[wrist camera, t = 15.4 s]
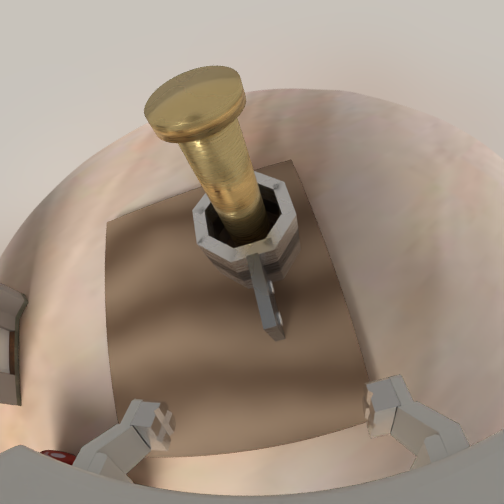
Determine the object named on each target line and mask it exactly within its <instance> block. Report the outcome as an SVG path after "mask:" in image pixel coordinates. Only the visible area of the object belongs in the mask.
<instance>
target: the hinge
mask: <svg viewBox="0 0 504 504" xmlns="http://www.w3.org/2000/svg"><path fill="white" fill-rule="evenodd" d="M254 173H255V176H256V180H257V183H258V186H259V189H260V193H261V196H262V199H263V203H264V206H265V209H266V213H267V216H268V219H269V222H270V223H273V224H275V225H274V226H273V228H272V229H271V231H270V233H269V234H268V236H267V237H266V239H264V240H260V241H257V242H253V243H250V244H247V245H243V246H240V247H237V248H232V247H230V246H228V245H226V243H227V242H228V240H229V239H230V238H231V237H230V235H229V233H228V231H227V230H226V228H225V226H224V224H223V223H222V221H221V219H220V217H219V215H218V214H217V212H216V210H215V208H214V207H213V205H212V203H211V201H210V200H209V198H208V196H207V194H206V193H205V194H204V196H203V197H202V198H201V200H200V201H199V202H198V203H197V205H196V206H195V207H194V209H193V210H192V211H193V219H194V227H195V234H196V241H197V245H198V246H199V247H200V249H201V250H202V251H203V252H204V253H205V255H206V256H207V257H208V258H209V259H210V261H211V262H212V263H213V264H214V266H215V267H216V268H217V269H218V270H219V272H220V273H222V274H223V275H225V276H227V277H229V278H230V279H232V280H234V281H236V282H238V283H239V284H241V285H243V286H245V287H247V288H248V289H250V288H254V292H255V296H256V300H257V304H258V308H259V313H260V317H261V321H262V325H263V329H264V330H265V331H266V333H267V334H268V335H269V336H270V337H271V338H272V339H273V340H274V341H275V342H276V341H280V340H283V339H285V335H284V331H283V327H282V326H283V321H282V318H281V314H280V311H278V308H277V304H276V300H275V297H274V294H275V291H274V287H273V284H272V282H275V281H279V280H282V279H284V277H285V276H286V274H287V272H288V271H289V269H290V267H291V266H292V264H293V262H294V261H295V259H296V257H297V255H298V254H299V252H300V250H301V247H300V239H299V231H298V223H297V215H296V212H295V209H294V207H293V204H292V201H291V198H290V196H289V193H288V190H287V188H286V185H285V182H283V181H280V180H278V179H275V178H272V177H270V176H267V175H264V174H261V173H258V172H256V171H254Z"/></svg>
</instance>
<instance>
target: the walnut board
mask: <svg viewBox="0 0 504 504" xmlns="http://www.w3.org/2000/svg"><path fill="white" fill-rule="evenodd" d="M254 171H256V172H258V173H261V174H264V175H267V176H270V177H272V178H275V179H278V180H280V181H283V182H285V185H286V188H287V190H288V193H289V196H290V198H291V201H292V204H293V207H294V209H295V212H296V215H297V223H298V231H299V239H300V247H301V250H300V252H299V254H298V255H297V257H296V259H295V261H294V262H293V264H292V266H291V267H290V269H289V271H288V272H287V274H286V276H285V277H284V279H282V280H279V281H275V282H272V284H273V287H274V291H275V294H274V297H275V300H276V304H277V308H278V311H280V314H281V318H282V321H283V326H282V327H283V331H284V335H285V339H283V340H280V341H276V342H275V341H274V340H273V339H272V338H271V337H270V336H269V335H268V334H267V333H266V331H265V330H264V329H263V325H262V321H261V317H260V313H259V308H258V304H257V300H256V296H255V292H254V288H250V289H248V288H247V287H245V286H243V285H241V284H239V283H238V282H236V281H234V280H232V279H230V278H229V277H227V276H225V275H223V274H222V273H220V272H219V270H218V269H217V268H216V267H215V266H214V264H213V263H212V262H211V261H210V259H209V258H208V257H207V256H206V255H205V253H204V252H203V251H202V250H201V249H200V247H199V246H198V245H197V241H196V234H195V227H194V219H193V211H192V210H193V209H194V207H195V206H196V205H197V203H198V202H199V201H200V200H201V198H202V197H203V196H204V194H205V193H206V192H205V191H204V189H203V187H200V188H197V189H194V190H191V191H188V192H185V193H182V194H180V195H177V196H174V197H171V198H168V199H166V200H163V201H160V202H158V203H155V204H152V205H150V206H147V207H144V208H142V209H139V210H137V211H134V212H131V213H129V214H126V215H124V216H121V217H119V218H117V219H114V220H112V221H109V222H107V229H106V250H105V307H106V328H107V342H108V354H109V363H110V372H111V380H112V388H113V395H114V401H115V407H116V413H117V419H118V424H120V423H121V421H122V419H123V417H124V415H125V413H126V411H127V409H128V407H129V405H130V403H131V401H132V400H134V399H142V400H155V401H165V402H166V403H167V405H168V406H169V407H168V410H169V411H170V412H172V413H173V415H174V417H175V421H176V427H175V431H174V433H173V434H171V435H170V438H171V443H170V446H169V449H168V451H158V450H151V451H150V452H149V453H148V454H147V455H146V456H145V457H192V456H207V455H218V454H228V453H236V452H244V451H251V450H257V449H263V448H269V447H274V446H279V445H284V444H289V443H294V442H298V441H302V440H307V439H311V438H315V437H319V436H322V435H326V434H330V433H333V432H336V431H340V430H343V429H346V428H350V427H353V426H356V425H359V424H362V423H365V422H367V421H368V420H367V419H366V418H365V416H364V412H363V404H362V400H363V396H364V395H365V394H364V390H363V387H364V383H367V382H369V378H368V374H367V371H366V367H365V363H364V360H363V356H362V353H361V350H360V346H359V343H358V339H357V336H356V333H355V330H354V326H353V323H352V320H351V317H350V314H349V311H348V308H347V304H346V301H345V298H344V295H343V292H342V289H341V287H340V284H339V281H338V278H337V275H336V272H335V269H334V266H333V264H332V261H331V258H330V255H329V253H328V250H327V247H326V244H325V242H324V239H323V236H322V234H321V231H320V229H319V226H318V223H317V221H316V218H315V216H314V213H313V211H312V208H311V206H310V203H309V201H308V198H307V196H306V193H305V191H304V188H303V186H302V184H301V181H300V179H299V176H298V174H297V172H296V169H295V167H294V165H293V163H292V160H288V161H285V162H281V163H277V164H274V165H270V166H267V167H263V168H260V169H257V170H254ZM269 223H270V222H269ZM274 225H275V224H273V223H270V226H271V229H272V228H273V226H274ZM226 245H228V246H230V247H232V248H237V247H236V245H235V244H234V242H233V240H232V238H230V239H229V240H228V242H227V243H226Z"/></svg>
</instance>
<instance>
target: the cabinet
mask: <svg viewBox="0 0 504 504" xmlns="http://www.w3.org/2000/svg"><path fill="white" fill-rule="evenodd" d="M27 304H28V301H27V299H26V297H25V295H24V294H22V293H20V292H18V291H16V290H14V289H12V288H10V287H8V286H6V285H4V284H2V283H0V403H3V404H10V405H18V406H21V397H20V384H19V360H18V341H19V318H20V316H21V314H22V312H23V311H24V309H25V307H26V305H27Z"/></svg>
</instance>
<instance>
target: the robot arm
mask: <svg viewBox="0 0 504 504" xmlns="http://www.w3.org/2000/svg"><path fill="white" fill-rule="evenodd" d="M363 390H364V394H365V395H364V396H363V400H362V404H363V412H364V416H365V418H366V419H367V420H368V423H367V428H368V431H369V435H370V438H375V437H379V436H384V435H388V434H391V436H393V437H394V438H395V439H396V440H397V441H399V442H400V443H401V444H402V445H404V446H405V447H406V448H407V449H408V450H410V451H411V452H412V453H413V454H415V455H416V456H417V457H416V459H415V461H414V463H413V465H412V467H411V469H410V471H407V472H404V473H400V474H397V475H394V476H390V477H386V478H383V479H379V480H375V481H371V482H366V483H362V484H357V485H352V486H347V487H342V488H336V489H330V490H323V491H315V492H307V493H297V494H285V495H264V496H232V495H211V494H199V493H189V492H180V491H173V490H166V489H160V488H154V487H149V486H144V485H139V484H134V483H133V481H132V480H131V479H130V478H129V477H128V476H127V475H126V474H127V473H128V472H129V471H130V470H131V469H132V468H133V467H134V466H135V465H137V464H138V463H139V462H140V461H141V460H142V459H143V458H144V457H145V456H146V455H147V454H148V453H149V452H150V451H151V450H158V451H168V449H169V446H170V443H171V438H170V435H171V434H173V433H174V431H175V427H176V421H175V417H174V415H173V413H172V412H170V411H169V410H168V407H169V406H168V405H167V403H166V402H165V401H155V400H142V399H134V400H132V401H131V403H130V405H129V407H128V409H127V411H126V413H125V415H124V417H123V419H122V421H121V423H120V424H116V425H115V426H113V427H112V428H110V429H109V430H107V431H106V432H104V433H103V434H101V435H100V436H98V437H97V438H95V439H94V440H92V441H91V442H89V443H87V444H86V445H84V446H83V447H82V448H81V450H80V452H79V453H78V455H77V457H76V459H75V461H74V463H73V465H69V464H66V463H63V462H61V461H58V460H56V459H53V458H51V457H49V456H46V455H44V454H42V453H39V452H37V451H35V450H33V449H31V448H29V447H26V446H24V445H18V446H15V447H13V448H10V449H8V450H6V451H4V452H2V453H0V504H504V429H502V430H501V431H499V432H497V433H495V434H494V435H492V436H490V437H488V438H486V439H484V440H482V441H480V442H478V443H476V444H474V445H472V446H470V445H469V443H468V441H467V439H466V437H465V435H464V433H463V431H462V429H461V427H460V425H459V424H458V423H456V422H454V421H452V420H451V419H449V418H447V417H445V416H443V415H441V414H439V413H438V412H436V411H434V410H432V409H430V408H429V407H427V406H425V405H423V404H421V403H420V402H418V401H416V402H414V401H413V399H412V397H411V395H410V393H409V390H408V388H407V386H406V384H405V382H404V380H403V378H402V376H401V375H396V376H392V377H388V378H384V379H380V380H376V381H372V382H367V383H364V387H363Z"/></svg>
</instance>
